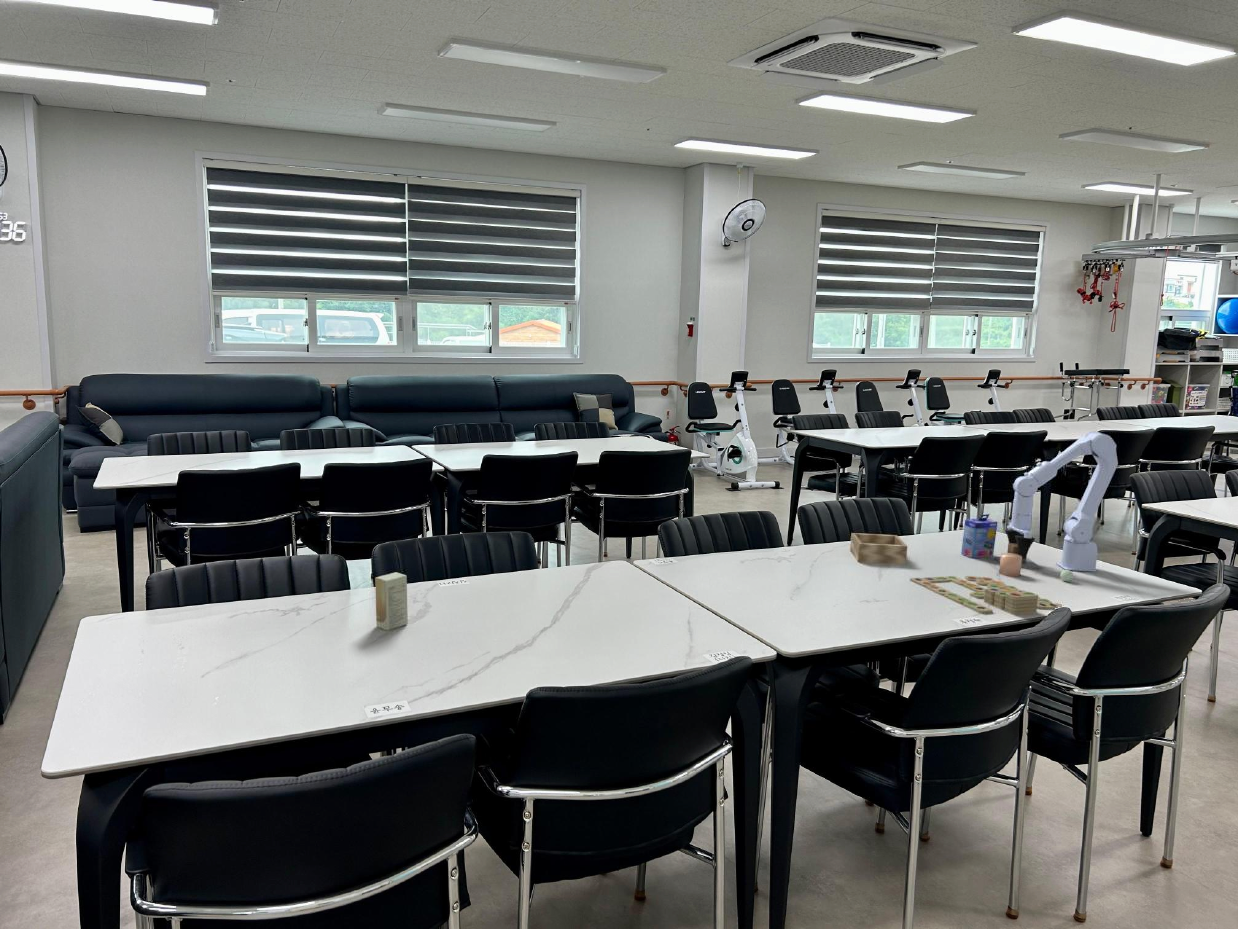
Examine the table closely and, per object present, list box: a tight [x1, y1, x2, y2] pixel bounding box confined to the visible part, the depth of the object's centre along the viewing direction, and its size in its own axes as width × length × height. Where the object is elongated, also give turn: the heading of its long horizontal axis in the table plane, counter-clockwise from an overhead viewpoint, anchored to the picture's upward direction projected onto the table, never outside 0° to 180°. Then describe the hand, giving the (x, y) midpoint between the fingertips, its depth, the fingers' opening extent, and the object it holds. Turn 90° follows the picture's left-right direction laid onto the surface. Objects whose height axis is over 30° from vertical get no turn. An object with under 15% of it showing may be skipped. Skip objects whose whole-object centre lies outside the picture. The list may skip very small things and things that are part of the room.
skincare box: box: [374, 572, 409, 631], centre depth 208 cm, size 6×4×12 cm
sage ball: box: [1059, 569, 1074, 583], centre depth 267 cm, size 4×4×4 cm
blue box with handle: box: [960, 513, 998, 559], centre depth 294 cm, size 10×6×14 cm, turn 114°
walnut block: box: [1006, 542, 1028, 564], centre depth 286 cm, size 4×4×6 cm
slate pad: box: [993, 555, 1042, 570], centre depth 287 cm, size 11×11×1 cm
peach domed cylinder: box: [998, 552, 1022, 578], centre depth 273 cm, size 6×6×6 cm
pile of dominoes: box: [909, 575, 1064, 616], centre depth 250 cm, size 35×27×6 cm
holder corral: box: [849, 532, 908, 566], centre depth 288 cm, size 15×15×6 cm
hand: (1017, 554), depth 286 cm, fingers open, 7 cm apart
